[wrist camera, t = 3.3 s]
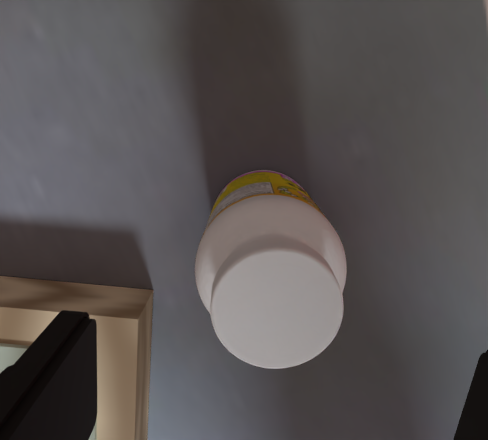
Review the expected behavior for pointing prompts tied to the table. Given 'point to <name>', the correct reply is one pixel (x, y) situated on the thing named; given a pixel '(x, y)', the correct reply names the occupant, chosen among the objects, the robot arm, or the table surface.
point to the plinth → (108, 343)
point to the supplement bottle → (271, 271)
